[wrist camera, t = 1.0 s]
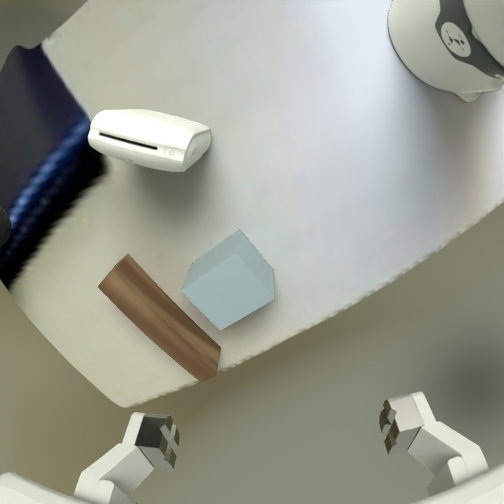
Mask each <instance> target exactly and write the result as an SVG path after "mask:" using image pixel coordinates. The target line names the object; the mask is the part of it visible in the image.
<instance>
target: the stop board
mask: <svg viewBox="0 0 504 504" xmlns="http://www.w3.org/2000/svg"><path fill="white" fill-rule="evenodd" d="M98 288H99V289H100V290H101V291H102V292H103V293H104V294H105V295H106V296H107V297H108V298H109V299H110V300H111V301H112V302H113V303H114V304H115V305H116V306H117V307H118V308H119V309H120V310H121V311H122V312H123V313H124V314H125V315H126V316H127V317H128V318H129V319H130V320H131V321H132V322H133V323H134V324H135V325H136V326H137V327H138V328H139V329H140V330H142V331H143V332H144V333H145V334H146V335H147V336H148V337H149V338H150V339H151V340H152V341H153V342H155V343H156V344H157V345H158V346H159V347H160V348H161V349H162V350H164V351H165V352H166V353H167V354H168V355H169V356H170V357H172V358H173V359H174V360H175V361H176V362H177V363H178V364H180V365H181V366H182V367H183V368H184V369H186V370H187V371H188V372H189V373H190V374H192V375H193V376H194V377H195V378H197V379H198V380H199V381H200V382H202V381H205V380H207V379H209V378H211V377H213V376H215V375H216V374H217V367H218V361H219V355H220V349H221V347H220V346H219V345H218V344H217V343H216V342H214V341H213V340H212V339H211V338H210V337H209V336H208V335H207V334H206V333H205V332H204V331H203V330H202V329H201V328H200V327H199V326H198V325H197V324H196V323H195V322H193V321H192V320H191V319H190V318H189V317H188V316H187V315H186V314H185V313H184V312H183V311H182V310H181V309H180V308H179V307H178V306H177V305H176V304H175V303H174V302H173V301H172V300H171V299H170V298H169V297H168V296H167V295H166V293H165V292H164V291H163V290H162V289H161V288H160V287H159V286H158V285H157V284H156V283H155V282H154V281H153V280H152V279H151V278H150V277H149V276H148V275H147V274H146V273H145V271H144V270H143V269H142V268H141V267H140V266H139V265H138V264H137V263H136V262H135V261H134V260H133V258H132V257H131V256H130V255H129V254H127V255H126V256H125V257H124V258H123V259H122V260H121V261H120V262H118V263H117V264H116V265H115V266H114V268H113V269H112V270H111V271H110V272H109V274H108V275H107V276H106V277H105V278H104V280H103V281H102V282H101V283H100V285H99V286H98Z"/></svg>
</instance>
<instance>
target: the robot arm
mask: <svg viewBox="0 0 504 504" xmlns="http://www.w3.org/2000/svg"><path fill="white" fill-rule="evenodd" d="M388 27H389V33H390V37H391V40H392V43H393V45H394V47H395V49H396V51H397V53H398V55H399V57H400V58H401V60H402V61H403V62H404V64H405V65H406V66H407V67H408V69H409V70H410V71H411V72H412V73H413V74H414V75H416V76H417V77H418V78H419V79H421V80H422V81H423V82H425V83H427V84H428V85H430V86H433V87H435V88H438V89H441V90H446V91H451V92H453V93H455V94H456V95H457V96H459V97H460V98H461V99H463V100H464V101H467V102H473V101H475V100H476V99H477V98H478V97H479V96H480V94H481V93H482V92H484V91H496V90H500V89H501V86H502V85H503V84H504V0H393V1H392V4H391V7H390V10H389V15H388ZM383 406H384V410H382V411H381V414H380V422H379V423H380V429H381V432H382V433H383V434H384V435H385V436H387V437H386V439H385V441H384V442H385V446H386V449H387V452H388V455H389V454H394V453H398V452H402V451H406V450H408V452H409V453H410V454H411V455H412V456H413V457H415V458H416V459H417V460H418V461H419V462H420V463H421V464H422V465H424V466H425V467H426V468H427V469H428V470H429V471H431V472H432V473H433V474H434V475H435V477H434V478H433V479H432V480H431V482H430V483H429V484H428V485H427V487H426V488H427V491H428V495H429V497H428V498H425V499H422V500H418V501H415V502H413V503H409V504H504V463H503V464H501V465H499V466H497V467H495V468H493V469H492V470H489V467H488V465H487V463H486V460H485V458H484V456H483V453H482V451H481V449H480V447H479V446H478V445H476V444H475V443H473V442H472V441H470V440H468V439H467V438H465V437H464V436H462V435H460V434H459V433H457V432H456V431H454V430H453V429H451V428H449V427H448V426H446V425H445V424H443V423H442V422H440V421H438V422H436V420H435V418H434V416H433V414H432V411H431V409H430V407H429V405H428V402H427V400H426V398H425V396H424V394H423V393H422V392H416V393H412V394H407V395H403V396H399V397H395V398H391V399H387V400H385V401H384V404H383ZM178 445H179V431H178V428H177V426H175V425H174V424H173V419H172V417H171V416H170V415H158V414H147V413H138V412H134V413H133V415H132V416H131V419H130V422H129V425H128V427H127V430H126V433H125V436H124V439H123V442H122V444H118V445H116V446H115V447H114V448H113V449H111V450H110V451H109V452H107V453H106V454H105V455H104V456H103V457H101V458H100V459H99V460H98V461H96V462H95V463H93V464H92V465H91V466H90V467H88V468H87V469H86V470H84V471H83V472H82V473H81V475H80V478H79V481H78V484H77V487H76V489H75V492H74V495H73V497H71V496H68V495H65V494H62V493H60V492H57V491H55V490H52V489H50V488H47V487H45V486H43V485H40V484H38V483H36V482H34V481H31V480H29V479H27V478H25V477H23V476H21V475H19V474H17V473H14V472H7V473H5V474H2V475H0V504H137V503H136V502H135V501H134V500H132V499H131V498H130V497H129V495H130V494H131V493H132V492H133V491H134V490H135V489H136V487H137V486H139V484H140V483H141V482H142V481H143V480H144V479H145V478H146V477H147V476H148V475H149V474H150V473H151V471H152V470H153V469H154V467H155V468H165V469H174V465H175V461H176V454H175V453H174V450H176V449H177V448H178Z"/></svg>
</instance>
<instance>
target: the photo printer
mask: <svg viewBox="0 0 504 504" xmlns="http://www.w3.org/2000/svg"><path fill="white" fill-rule="evenodd" d="M210 130H211V129H210V128H208V127H206V126H204V125H202V124H200V123H197V122H194V121H191V120H187V119H184V118H180V117H177V116H173V115H169V114H165V113H160V112H155V111H150V110H143V109H124V110H105V111H101V112H100V113H98V114H97V115H96V116H95V118H94V119H93V121H92V123H91V128H90V133H89V135H88V141H89V144H90V145H91V146H92V147H93V148H94V149H96V150H98V151H99V152H101V153H103V154H105V155H108V156H111V157H114V158H116V159H120V160H123V161H126V162H130V163H133V164H137V165H140V166H144V167H148V168H153V169H157V170H165V171H171V172H184V171H185V170H186V169H188V168H189V167H190V166H191V165H192V164H194V163H195V162H196V161H197V160H199V159H200V158H201V157H202V154H203V153H204V152H206V151H207V150H208V148H209V147H210V144H211V133H210Z"/></svg>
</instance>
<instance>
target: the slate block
mask: <svg viewBox="0 0 504 504" xmlns="http://www.w3.org/2000/svg"><path fill="white" fill-rule="evenodd" d="M181 292H182V293H183V294H184V295H185V296H186V297H187V298H188V299H189V300H190V301H191V302H192V303H193V304H194V305H195V306H196V307H197V308H198V309H199V310H200V311H201V312H202V313H203V314H204V315H205V316H206V317H207V318H208V319H209V320H210V321H211V322H212V323H213V324H214V325H215V326H216V327H217V328H218V329H219V330H220V331H221V330H223V329H224V328H226V327H228V326H230V325H231V324H233V323H235V322H237V321H238V320H240V319H242V318H243V317H245V316H247V315H249V314H250V313H252V312H254V311H255V310H257V309H259V308H260V307H262V306H264V305H265V304H267V303H269V302H270V301H272V300H274V299H275V291H274V274H273V269H272V267H271V266H270V265H269V264H268V262H267V261H266V260H265V259H264V258H263V256H262V255H261V254H260V253H259V251H258V250H257V249H256V248H255V247H254V245H253V244H252V243H251V242H250V240H249V239H248V238H247V237H246V236H245V234H244V233H243V232H242V231H241V229H239V230H238V231H236V232H235V233H234V234H232V235H231V236H229V237H228V238H227V239H225V240H224V241H222V242H221V243H220V244H218V245H217V246H215V247H214V248H213V249H211V250H210V251H208V252H207V253H206V254H204V255H203V256H202V257H200V258H199V259H197V260H196V261H195V262H193V263H192V265H191V268H190V270H189V272H188V274H187V277H186V279H185V281H184V284H183V286H182V289H181Z"/></svg>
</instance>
